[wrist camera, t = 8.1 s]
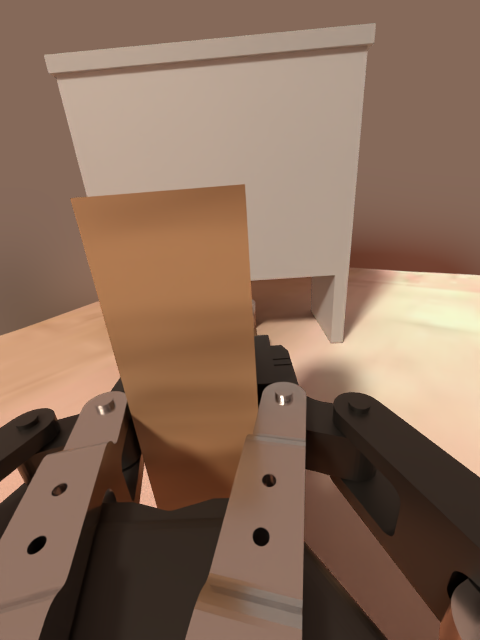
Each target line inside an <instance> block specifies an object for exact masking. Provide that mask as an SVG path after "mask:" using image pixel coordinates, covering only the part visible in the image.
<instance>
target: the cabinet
mask: <svg viewBox="0 0 480 640" xmlns="http://www.w3.org/2000/svg"><path fill="white" fill-rule="evenodd" d="M375 27H376V23H372V24H362V25H352V26H341V27H331V28H320V29H310V30H300V31H289V32H279V33H269V34H258V35H247V36H237V37H226V38H216V39H206V40H197V41H196V40H195V41H185V42H175V43H165V44H154V45H144V46H133V47H123V48H112V49H102V50H91V51H81V52H70V53H60V54H50V55H44V57H45V61H46V65H47V68H48V72H49V74H51V75H52V76H54V77H55V78H57V82H58V86H59V90H60V94H61V98H62V102H63V105H64V109H65V113H66V117H67V121H68V125H69V128H70V132H71V136H72V140H73V144H74V148H75V152H76V156H77V159H78V163H79V167H80V171H81V174H82V179H83V182H84V186H85V190H86V194H87V197H92V196H104V195H116V194H129V193H141V192H154V191H166V190H178V189H191V188H203V187H216V186H228V185H240V184H245V192H246V209H247V226H248V243H249V260H250V277H251V281H253V280H268V279H283V278H299V277H312V289H311V312H312V313H313V315H314V317H315V318H316V320H317V322H318V323H319V325H320V326H321V328H322V330H323V331H324V333H325V335H326V336H327V338H328V339H329V341H330V343H341V342H343V333H344V322H345V310H346V298H347V286H348V274H349V262H350V249H351V238H352V226H353V215H354V203H355V190H356V179H357V167H358V155H359V143H360V131H361V119H362V107H363V96H364V84H365V72H366V59H367V51H368V50H369V48H370V47H371V46H372V45H373V44H374V38H375Z"/></svg>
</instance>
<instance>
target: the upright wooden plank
mask: <svg viewBox="0 0 480 640" xmlns="http://www.w3.org/2000/svg"><path fill="white" fill-rule="evenodd" d="M71 202H72V206H73V209H74V213H75V217H76V220H77V224H78V227H79V231H80V235H81V238H82V242H83V245H84V249H85V252H86V256H87V259H88V263H89V267H90V270H91V274H92V277H93V280H94V284H95V288H96V292H97V295H98V298H99V302H100V306H101V309H102V313H103V316H104V320H105V324H106V327H107V331H108V334H109V338H110V341H111V345H112V348H113V352H114V356H115V359H116V363H117V366H118V370H119V373H120V377H121V380H122V384H123V388H124V391H125V395H126V398H127V402H128V405H129V409H130V412H131V416H132V420H133V423H134V427H135V430H136V434H137V437H138V441H139V445H140V448H141V452H142V455H143V459H144V462H145V466H146V469H147V473H148V477H149V480H150V484H151V487H152V491H153V494H154V498H155V501H156V505H157V508H158V509H162V510H167V511H172V510H176V509H179V508H183V507H186V506H190V505H193V504H196V503H200V502H203V501H206V500H210V499H213V498H230V494H231V491H232V487H233V483H234V479H235V476H236V472H237V468H238V465H239V461H240V457H241V453H242V450H243V446H244V442H245V439H246V436H247V435H248V434H253V430H254V426H255V422H256V417H257V413H258V396H257V379H256V362H255V345H254V336H257V330H256V329H254V328H253V311H252V294H251V277H250V260H249V243H248V226H247V209H246V192H245V184H240V185H228V186H216V187H203V188H191V189H178V190H166V191H154V192H141V193H129V194H116V195H104V196H92V197H79V198H71Z"/></svg>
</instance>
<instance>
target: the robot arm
mask: <svg viewBox="0 0 480 640" xmlns="http://www.w3.org/2000/svg"><path fill="white" fill-rule="evenodd" d="M254 345H255V362H256V379H257V396H258V413H257V417H256V422H255V426H254V430H253V434H248V435H247V436H246V439H245V442H244V446H243V450H242V453H241V457H240V461H239V465H238V468H237V472H236V476H235V479H234V483H233V487H232V491H231V494H230V498H213V499H210V500H206V501H203V502H200V503H196V504H193V505H190V506H186V507H183V508H179V509H176V510H172V511H167V510H162V509H158V508H154V507H150V506H146V505H142V504H139V502H140V494H141V486H142V477H143V469H144V459H143V455H142V452H141V448H140V445H139V441H138V437H137V434H136V430H135V427H134V423H133V420H132V416H131V412H130V409H129V405H128V402H127V398H126V395H125V391H124V388H123V384H122V380H121V377H120V379H119V380H118V382H117V383H116V384H115V386H114V387H113V389H112V390H111V392H107V393H103V394H101V395H98V396H96V397H94V398H93V399H91V400H90V401H88V402H87V403H86V404H85V405H84V407H83V409H82V411H81V413H80V414H78V415H74V416H70V417H67V418H63V419H59V420H57V418H56V415H55V413H54V411H53V410H51V409H48V408H42V409H36V410H32V411H29V412H27V413H24V414H22V415H20V416H18V417H17V418H15V419H13V420H12V421H10V422H9V423H7V424H6V425H4V426H2V427H1V428H0V481H1V480H3V479H4V478H5V477H6V476H8V475H9V474H10V473H11V472H13V471H14V470H15V469H16V468H17V469H18V471H19V473H20V474H21V476H22V478H23V480H24V482H25V483H24V484H22V485H21V486H20V487H19V488H18V489H17V490H16V491H14V492H13V493H12V494H11V495H10V496H9V497H7V498H6V499H5V500H4V501H3V502H2V503H0V640H388V639H387V638H386V637H385V636H384V634H383V633H382V632H381V631H380V630H379V629H378V627H377V626H376V625H375V624H374V623H373V621H372V620H371V619H370V618H369V617H368V616H367V614H366V613H365V612H364V611H363V610H362V609H361V607H360V606H359V605H358V604H357V603H356V602H355V600H354V599H353V598H352V597H351V596H350V595H349V593H348V592H347V591H346V590H345V589H344V588H343V586H342V585H341V584H340V583H339V582H338V580H337V579H336V578H335V577H334V576H333V575H332V573H331V572H330V571H329V570H328V569H327V568H326V566H325V565H324V564H323V563H322V562H321V561H320V559H319V558H318V557H317V556H316V555H315V554H314V552H313V551H312V550H311V549H310V548H309V547H308V545H307V544H306V543H305V542H304V501H305V469H308V470H312V471H316V472H320V473H324V474H327V475H330V477H331V479H332V481H333V482H334V484H335V485H336V486H337V488H338V489H339V490H340V492H341V493H342V494H343V496H344V497H345V498H346V499H347V501H348V502H349V503H350V505H351V506H352V507H353V509H354V510H355V511H356V513H357V514H358V515H359V516H360V518H361V519H362V520H363V522H364V523H365V524H366V526H367V527H368V528H369V529H370V531H371V532H372V533H373V535H374V536H375V537H376V539H377V540H378V541H379V543H380V544H381V545H382V546H383V548H384V549H385V550H386V552H387V553H388V554H389V556H390V557H391V558H392V560H393V561H394V562H395V563H396V565H397V566H398V567H399V569H400V570H401V571H402V573H403V574H404V575H405V577H406V578H407V579H408V580H409V582H410V583H411V584H412V586H413V587H414V588H415V590H416V591H417V592H418V594H419V595H420V596H421V597H422V599H423V600H424V601H425V603H426V604H427V605H428V607H429V608H430V609H431V611H432V612H433V613H434V614H435V616H436V617H437V618H438V620H439V621H440V622H441V624H440V628H439V640H480V477H479V476H477V475H476V474H475V473H473V472H472V471H471V470H469V469H468V468H467V467H465V466H464V465H463V464H461V463H460V462H459V461H457V460H456V459H455V458H453V457H452V456H451V455H449V454H448V453H447V452H445V451H444V450H443V449H441V448H440V447H439V446H437V445H436V444H435V443H433V442H432V441H431V440H429V439H428V438H427V437H425V436H424V435H423V434H421V433H420V432H419V431H417V430H416V429H415V428H413V427H412V426H411V425H409V424H408V423H407V422H405V421H404V420H403V419H401V418H400V417H399V416H397V415H396V414H395V413H393V412H392V411H391V410H389V409H388V408H387V407H385V406H384V405H383V404H381V403H380V402H379V401H377V400H376V399H374V398H373V397H371V396H368V395H366V394H362V393H355V392H349V393H344V394H341V395H339V396H338V397H337V398H336V399H335V400H334V404H332V403H326V402H321V401H317V400H314V399H311V398H309V397H308V396H306V393H305V391H304V390H303V389H302V388H301V387H300V386H299V385H298V382H297V379H296V375H295V372H294V369H293V366H292V362H291V359H290V356H289V353H288V350H286V349H285V348H284V347H283V346H282V345H276V346H270V342H269V337H268V335H257V336H254Z"/></svg>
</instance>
